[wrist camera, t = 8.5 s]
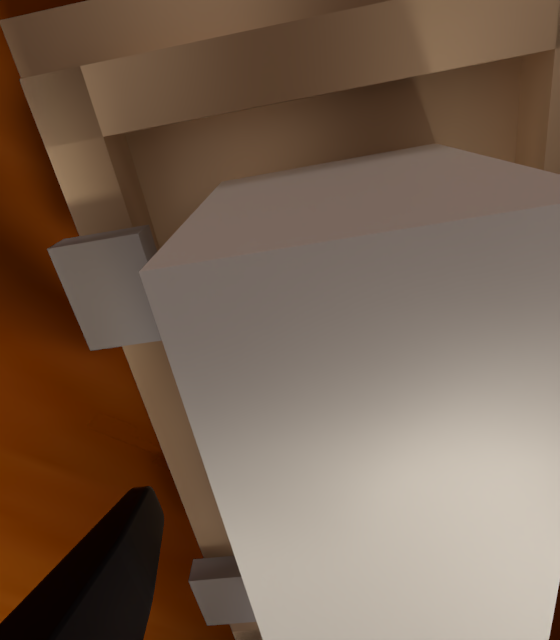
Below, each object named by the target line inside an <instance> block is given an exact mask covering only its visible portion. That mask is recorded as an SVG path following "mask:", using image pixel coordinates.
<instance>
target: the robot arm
mask: <svg viewBox="0 0 560 640" xmlns="http://www.w3.org/2000/svg"><path fill="white" fill-rule="evenodd" d="M163 526H164V515H163V511H162V508H161V506H160V504H159V501H158V499H157V496H156V494H155V492H154V490H153V488H152V487H149V486H145V487H136V488H132V489H131V490H129V491H128V492H127V493H126V494H125V495H124V496H123V498H122V499H121V500H120V501H119V502H118V503H117V504H116V505H115V506H114V507H113V508H112V509H111V510H110V511H109V512H108V513H107V514H106V515H105V516H104V517H103V518H102V519H101V520H100V521H99V522H98V523H97V524H96V525H95V526H94V527H93V528H92V530H91V531H90V532H89V533H88V534H87V535H86V536H85V537H84V538H83V539H82V540H81V541H80V542H79V543H78V544H77V545H76V546H75V547H74V548H73V549H72V550H71V551H70V552H69V553H68V554H67V555H66V556H65V557H64V558H63V559H62V560H61V561H60V563H59V564H58V565H57V566H56V567H55V568H54V569H53V570H52V571H51V572H50V573H49V574H48V575H47V576H46V577H45V578H44V579H43V580H42V581H41V582H40V583H39V584H38V585H37V586H36V587H35V588H34V589H33V590H32V591H31V592H30V593H29V594H28V596H27V597H26V598H25V599H24V600H23V601H22V602H21V603H20V604H19V605H18V606H17V607H16V608H15V609H14V610H13V611H12V612H11V613H10V614H9V615H8V616H7V617H6V618H5V619H4V620H3V621H2V622H1V623H0V640H143V638H144V634H145V630H146V626H147V622H148V618H149V614H150V609H151V605H152V600H153V595H154V589H155V582H156V575H157V568H158V561H159V554H160V547H161V540H162V533H163Z"/></svg>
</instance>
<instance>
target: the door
mask: <svg viewBox="0 0 560 640" xmlns="http://www.w3.org/2000/svg"><path fill="white" fill-rule="evenodd" d="M139 274H140V277H141V280H142V283H143V286H144V289H145V292H146V295H147V298H148V301H149V304H150V307H151V310H152V313H153V316H154V319H155V322H156V324H157V327H158V330H159V333H160V336H161V339H162V342H163V345H164V348H165V351H166V354H167V357H168V360H169V363H170V366H171V369H172V372H173V375H174V378H175V381H176V384H177V387H178V390H179V393H180V396H181V399H182V402H183V405H184V408H185V411H186V414H187V416H188V419H189V422H190V425H191V428H192V431H193V434H194V437H195V440H196V443H197V446H198V449H199V452H200V455H201V458H202V461H203V464H204V467H205V470H206V473H207V476H208V479H209V482H210V485H211V488H212V491H213V494H214V497H215V500H216V503H217V506H218V509H219V511H220V514H221V517H222V520H223V523H224V526H225V529H226V532H227V535H228V538H229V541H230V544H231V547H232V550H233V553H234V556H235V559H236V562H237V565H238V568H239V571H240V574H241V577H242V580H243V583H244V586H245V589H246V592H247V595H248V598H249V601H250V603H251V606H252V609H253V612H254V615H255V618H256V621H257V624H258V627H259V630H260V633H261V636H262V639H263V640H549V637H550V631H551V626H552V620H553V615H554V609H555V604H556V598H557V593H558V588H559V582H560V174H556V173H552V172H548V171H544V170H540V169H536V168H532V167H528V166H524V165H520V164H516V163H512V162H508V161H504V160H500V159H496V158H492V157H488V156H484V155H480V154H476V153H472V152H468V151H464V150H460V149H456V148H452V147H448V146H444V145H440V144H436V143H434V144H429V145H423V146H417V147H412V148H406V149H401V150H395V151H390V152H384V153H378V154H373V155H367V156H362V157H356V158H351V159H345V160H339V161H334V162H328V163H323V164H317V165H311V166H306V167H300V168H295V169H289V170H284V171H278V172H272V173H267V174H261V175H256V176H250V177H245V178H239V179H233V180H228V181H222V182H221V183H220V184H219V185H218V186H217V187H216V188H215V189H214V190H213V192H212V193H211V194H210V195H209V196H208V197H207V198H206V199H205V200H204V201H203V202H202V204H201V205H200V206H199V207H198V208H197V209H196V210H195V211H194V212H193V213H192V214H191V216H190V217H189V218H188V219H187V220H186V221H185V222H184V223H183V224H182V225H181V226H180V227H179V229H178V230H177V231H176V232H175V233H174V234H173V235H172V236H171V237H170V238H169V239H168V241H167V242H166V243H165V244H164V245H163V246H162V247H161V248H160V249H159V250H158V251H157V253H156V254H155V255H154V256H153V257H152V258H151V259H150V260H149V261H148V262H147V263H146V264H145V266H144V267H143V268H142V269H141V270H140V271H139Z"/></svg>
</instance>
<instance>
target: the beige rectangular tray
mask: <svg viewBox="0 0 560 640" xmlns="http://www.w3.org/2000/svg"><path fill="white" fill-rule="evenodd" d="M0 25H1V27H2V30H3V33H4V35H5V38H6V40H7V43H8V46H9V48H10V51H11V53H12V56H13V59H14V61H15V64H16V67H17V69H18V72H19V74H20V77H21V79H19V81H20V83H21V86H22V88H23V91H24V94H25V96H26V99H27V101H28V104H29V107H30V109H31V112H32V114H33V117H34V120H35V122H36V125H37V127H38V130H39V133H40V135H41V138H42V140H43V143H44V145H45V148H46V151H47V153H48V156H49V158H50V161H51V164H52V166H53V169H54V171H55V174H56V177H57V179H58V182H59V184H60V187H61V190H62V192H63V195H64V197H65V200H66V202H67V205H68V208H69V210H70V213H71V215H72V218H73V221H74V223H75V226H76V228H77V231H78V234H79V237H73V238H68V239H63V240H62V241H60V242H58V243H56V244H55V245H53V246H51V247H50V248H48V249H47V250H48V253H49V255H50V257H51V260H52V262H53V264H54V267H55V269H56V271H57V274H58V276H59V278H60V281H61V283H62V285H63V288H64V290H65V292H66V295H67V297H68V300H69V302H70V304H71V307H72V309H73V311H74V314H75V316H76V318H77V321H78V323H79V325H80V328H81V330H82V332H83V335H84V337H85V339H86V342H87V344H88V346H89V349H90V351H92V350H99V349H106V348H113V347H120V346H122V348H123V350H124V353H125V355H126V358H127V361H128V363H129V366H130V368H131V371H132V373H133V376H134V379H135V381H136V384H137V386H138V389H139V392H140V394H141V397H142V399H143V402H144V405H145V407H146V410H147V412H148V415H149V418H150V420H151V423H152V425H153V428H154V430H155V433H156V436H157V438H158V441H159V443H160V446H161V449H162V451H163V454H164V456H165V459H166V462H167V464H168V467H169V469H170V472H171V475H172V477H173V480H174V482H175V485H176V488H177V490H178V493H179V495H180V498H181V500H182V503H183V506H184V508H185V511H186V513H187V516H188V519H189V521H190V524H191V526H192V529H193V532H194V534H195V537H196V539H197V542H198V545H199V547H200V550H201V552H202V555H203V557H204V558H203V559H193V563H192V567H191V572H190V577H189V584H190V586H191V588H192V591H193V593H194V595H195V598H196V600H197V603H198V605H199V607H200V610H201V612H202V614H203V617H204V619H205V621H206V624H207V626H209V625H222V624H229V625H230V627H231V630H232V633H233V635H234V638H235V640H263V639H262V636H261V633H260V630H259V627H258V624H257V621H256V618H255V615H254V612H253V609H252V606H251V603H250V601H249V598H248V595H247V592H246V589H245V586H244V583H243V580H242V577H241V574H240V571H239V568H238V565H237V562H236V559H235V556H234V553H233V550H232V547H231V544H230V541H229V538H228V535H227V532H226V529H225V526H224V523H223V520H222V517H221V514H220V511H219V509H218V506H217V503H216V500H215V497H214V494H213V491H212V488H211V485H210V482H209V479H208V476H207V473H206V470H205V467H204V464H203V461H202V458H201V455H200V452H199V449H198V446H197V443H196V440H195V437H194V434H193V431H192V428H191V425H190V422H189V419H188V416H187V414H186V411H185V408H184V405H183V402H182V399H181V396H180V393H179V390H178V387H177V384H176V381H175V378H174V375H173V372H172V369H171V366H170V363H169V360H168V357H167V354H166V351H165V348H164V345H163V342H162V339H161V336H160V333H159V330H158V327H157V324H156V322H155V319H154V316H153V313H152V310H151V307H150V304H149V301H148V298H147V295H146V292H145V289H144V286H143V283H142V280H141V277H140V274H139V271H140V270H141V269H142V268H143V267H144V266H145V264H146V263H147V262H148V261H149V260H150V259H151V258H152V257H153V256H154V255H155V254H156V253H157V251H158V250H159V249H160V248H161V247H162V246H163V245H164V244H165V243H166V242H167V241H168V239H169V238H170V237H171V236H172V235H173V234H174V233H175V232H176V231H177V230H178V229H179V227H180V226H181V225H182V224H183V223H184V222H185V221H186V220H187V219H188V218H189V217H190V216H191V214H192V213H193V212H194V211H195V210H196V209H197V208H198V207H199V206H200V205H201V204H202V202H203V201H204V200H205V199H206V198H207V197H208V196H209V195H210V194H211V193H212V192H213V190H214V189H215V188H216V187H217V186H218V185H219V184H220V183H221V182H222V181H228V180H233V179H239V178H245V177H250V176H256V175H261V174H267V173H272V172H278V171H284V170H289V169H295V168H300V167H306V166H311V165H317V164H323V163H328V162H334V161H339V160H345V159H351V158H356V157H362V156H367V155H373V154H378V153H384V152H390V151H395V150H401V149H406V148H412V147H417V146H423V145H429V144H434V143H436V144H440V145H444V146H448V147H452V148H456V149H460V150H464V151H468V152H472V153H476V154H480V155H484V156H488V157H492V158H496V159H500V160H504V161H508V162H512V163H516V164H520V165H524V166H528V167H532V168H536V169H540V170H544V171H548V172H552V173H556V174H560V0H87V1H83V2H78V3H74V4H69V5H65V6H61V7H56V8H52V9H47V10H43V11H39V12H34V13H30V14H25V15H21V16H17V17H12V18H8V19H3V20H0Z"/></svg>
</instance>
